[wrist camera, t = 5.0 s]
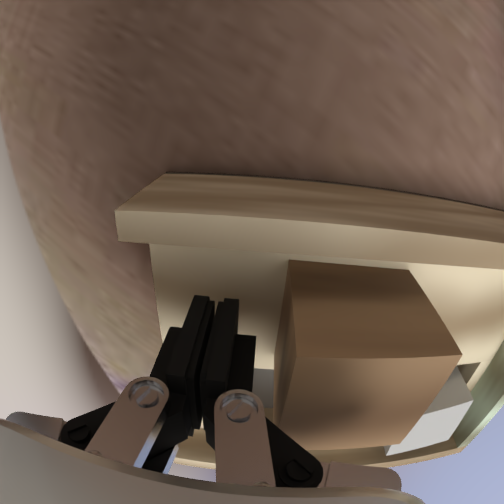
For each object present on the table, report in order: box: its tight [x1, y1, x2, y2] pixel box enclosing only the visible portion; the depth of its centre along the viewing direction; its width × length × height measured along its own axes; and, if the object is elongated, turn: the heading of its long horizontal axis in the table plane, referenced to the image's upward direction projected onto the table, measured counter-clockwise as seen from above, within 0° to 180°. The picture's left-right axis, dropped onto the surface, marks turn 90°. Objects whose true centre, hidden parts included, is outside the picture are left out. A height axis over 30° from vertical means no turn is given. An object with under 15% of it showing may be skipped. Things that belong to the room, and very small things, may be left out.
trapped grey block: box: [384, 365, 473, 456], centre depth 16 cm, size 4×4×4 cm
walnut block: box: [273, 259, 463, 450], centre depth 11 cm, size 5×5×5 cm
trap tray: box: [115, 172, 504, 469], centre depth 14 cm, size 16×20×5 cm
